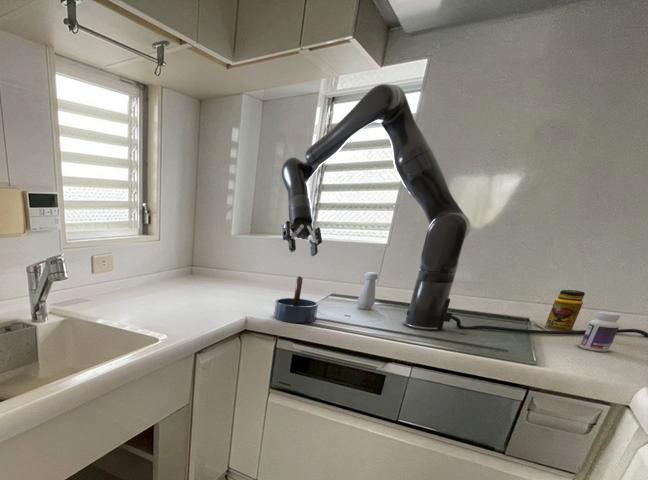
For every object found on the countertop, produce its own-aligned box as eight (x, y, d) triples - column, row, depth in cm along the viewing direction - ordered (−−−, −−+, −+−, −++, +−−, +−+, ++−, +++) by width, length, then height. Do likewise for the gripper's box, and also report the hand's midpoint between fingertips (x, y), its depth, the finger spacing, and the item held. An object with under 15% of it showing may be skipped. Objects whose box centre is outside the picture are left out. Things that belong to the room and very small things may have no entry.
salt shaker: (375, 310, 147) (383, 274, 142) (358, 309, 148) (366, 273, 143) (370, 306, 152) (378, 271, 147) (354, 305, 153) (361, 271, 148)
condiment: (548, 331, 122) (564, 292, 118) (535, 324, 130) (550, 287, 125) (579, 334, 120) (596, 294, 115) (564, 327, 127) (580, 289, 123)
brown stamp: (302, 315, 135) (308, 275, 130) (302, 319, 131) (308, 277, 126) (286, 314, 137) (292, 274, 132) (285, 317, 133) (291, 276, 128)
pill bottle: (613, 351, 105) (630, 314, 102) (599, 353, 104) (616, 316, 100) (587, 345, 110) (602, 310, 106) (574, 346, 109) (589, 311, 105)
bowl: (315, 315, 138) (317, 300, 136) (315, 325, 126) (318, 308, 124) (275, 312, 142) (277, 296, 140) (272, 321, 131) (274, 304, 128)
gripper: (289, 200, 135) (292, 244, 132) (324, 208, 139) (328, 250, 136) (276, 213, 142) (279, 255, 139) (309, 221, 146) (313, 261, 143)
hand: (303, 253), depth 137 cm, fingers open, 8 cm apart
